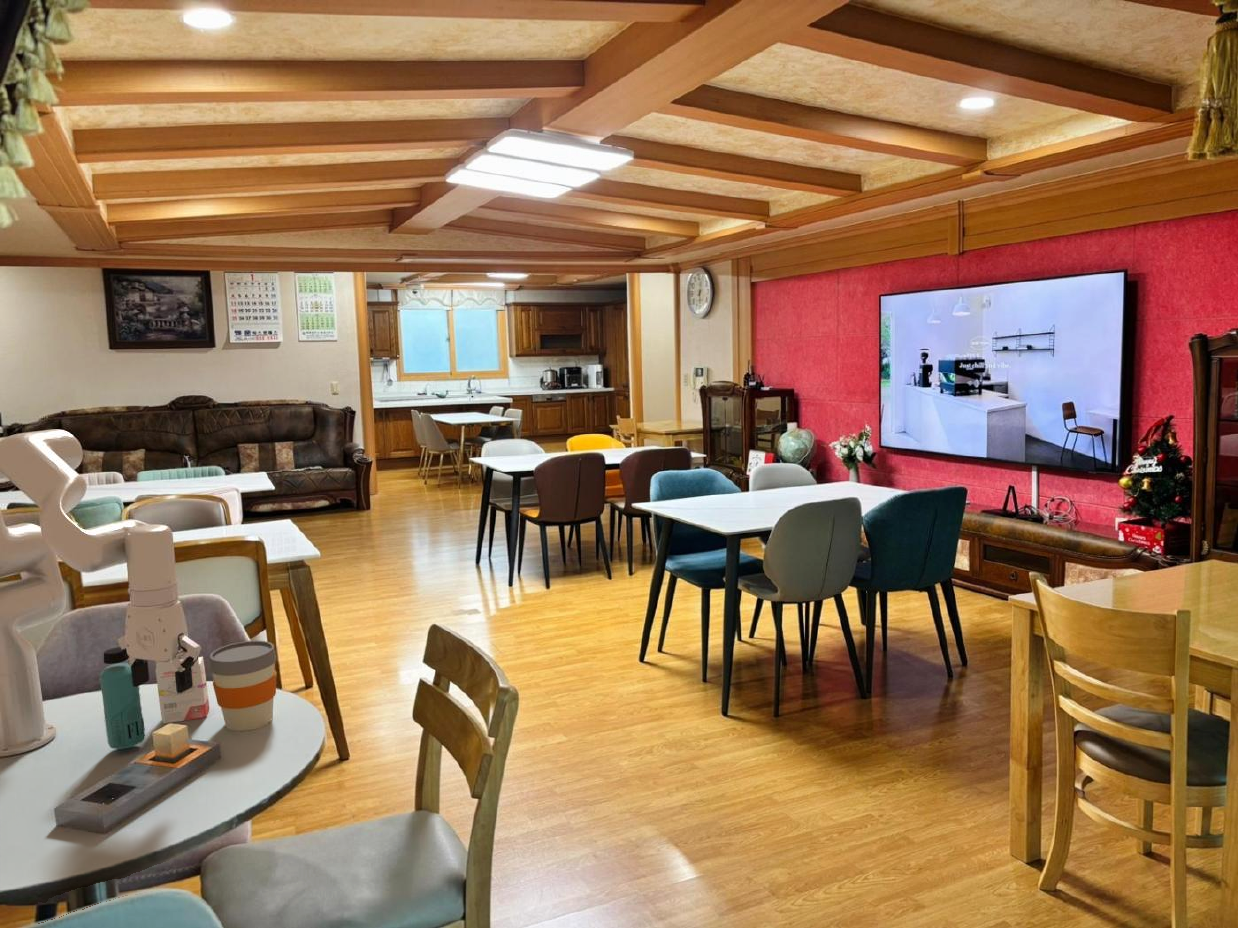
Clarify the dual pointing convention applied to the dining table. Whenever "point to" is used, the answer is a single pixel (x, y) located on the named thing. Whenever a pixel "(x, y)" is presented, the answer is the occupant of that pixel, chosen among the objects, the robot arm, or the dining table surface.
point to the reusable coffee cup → (245, 683)
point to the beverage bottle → (121, 702)
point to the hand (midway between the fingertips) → (162, 686)
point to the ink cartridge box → (187, 702)
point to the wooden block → (171, 743)
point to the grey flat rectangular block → (133, 789)
